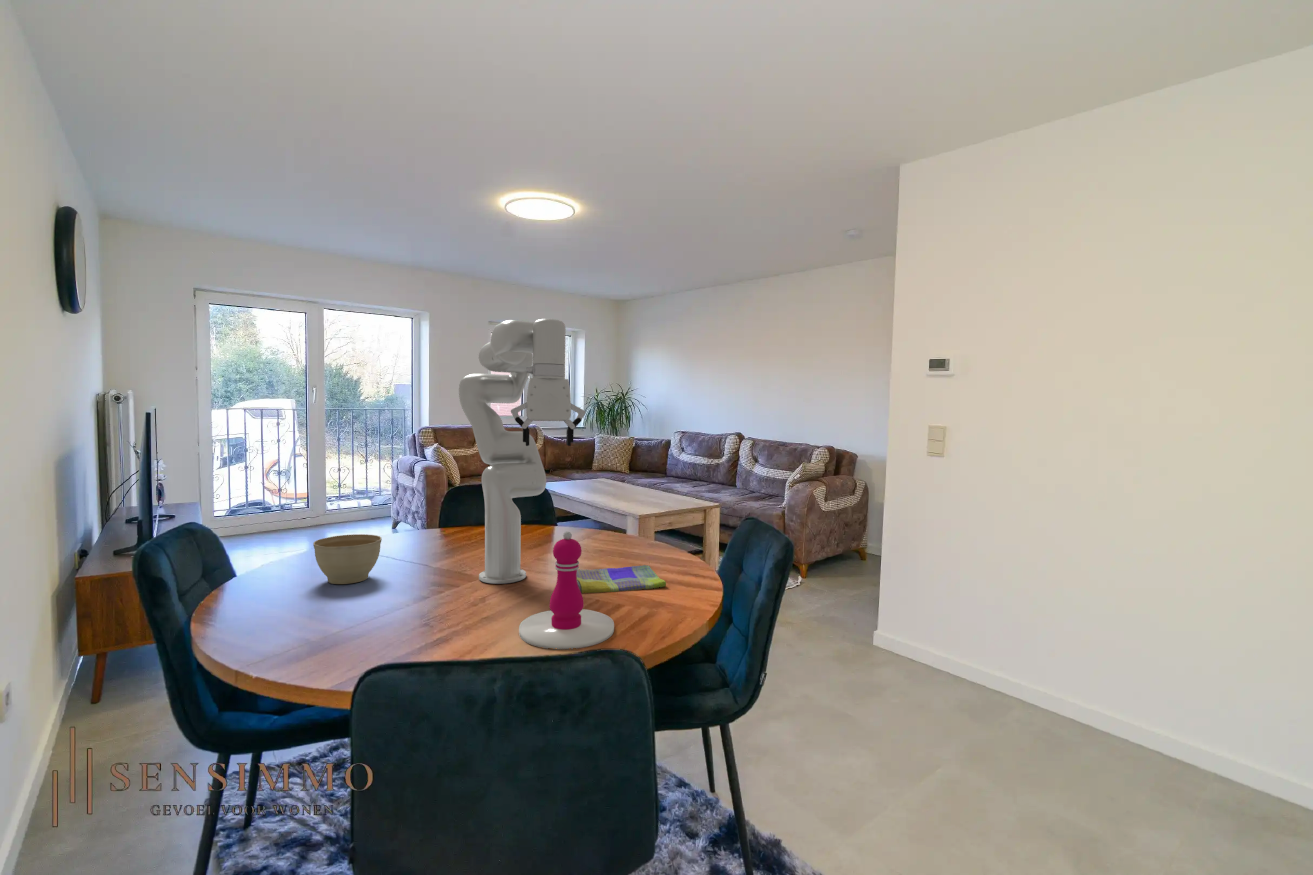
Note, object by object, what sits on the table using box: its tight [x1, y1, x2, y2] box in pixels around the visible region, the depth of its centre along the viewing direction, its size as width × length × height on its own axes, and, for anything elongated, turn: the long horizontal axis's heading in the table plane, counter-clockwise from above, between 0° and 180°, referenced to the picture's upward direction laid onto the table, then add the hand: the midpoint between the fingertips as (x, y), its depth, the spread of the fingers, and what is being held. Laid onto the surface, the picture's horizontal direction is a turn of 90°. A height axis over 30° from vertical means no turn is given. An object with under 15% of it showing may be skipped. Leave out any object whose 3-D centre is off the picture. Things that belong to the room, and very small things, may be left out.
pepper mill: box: [548, 531, 585, 630], centre depth 125 cm, size 7×7×20 cm
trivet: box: [518, 608, 615, 650], centre depth 126 cm, size 20×20×1 cm
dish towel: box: [576, 564, 667, 594], centre depth 162 cm, size 18×24×3 cm
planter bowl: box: [313, 533, 383, 585], centre depth 158 cm, size 16×16×11 cm
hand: (548, 445), depth 140 cm, fingers open, 9 cm apart
